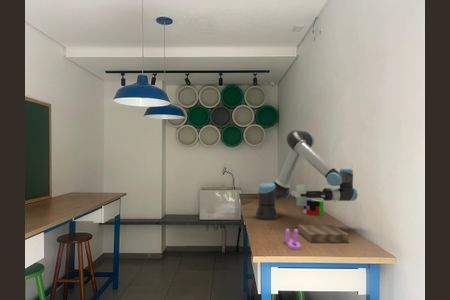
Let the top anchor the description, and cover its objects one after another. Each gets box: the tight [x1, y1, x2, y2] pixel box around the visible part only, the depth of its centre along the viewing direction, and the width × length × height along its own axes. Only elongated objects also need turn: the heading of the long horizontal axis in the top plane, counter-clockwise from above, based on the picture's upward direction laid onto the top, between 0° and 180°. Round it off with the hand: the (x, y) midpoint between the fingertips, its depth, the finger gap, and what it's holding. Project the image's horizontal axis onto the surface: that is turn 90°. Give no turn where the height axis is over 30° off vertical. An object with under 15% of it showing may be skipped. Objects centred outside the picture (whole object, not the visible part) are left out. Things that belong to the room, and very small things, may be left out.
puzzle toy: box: [302, 198, 324, 216], centre depth 227 cm, size 10×10×10 cm
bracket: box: [284, 228, 302, 251], centre depth 147 cm, size 13×6×7 cm, turn 179°
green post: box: [295, 184, 308, 207], centre depth 182 cm, size 6×6×12 cm
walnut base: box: [297, 224, 350, 243], centre depth 163 cm, size 20×20×4 cm
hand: (293, 194), depth 182 cm, fingers closed on green post, 6 cm apart
